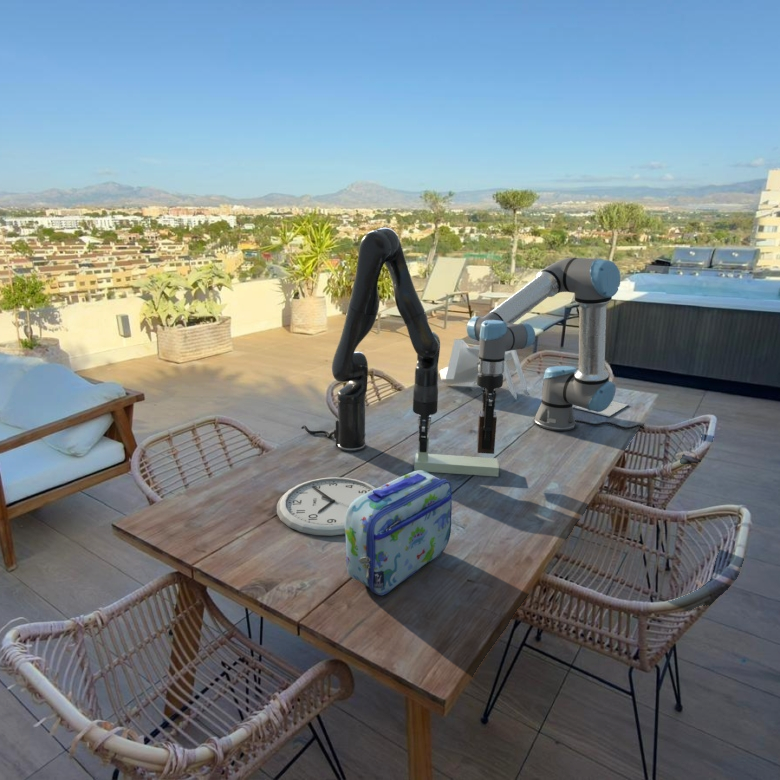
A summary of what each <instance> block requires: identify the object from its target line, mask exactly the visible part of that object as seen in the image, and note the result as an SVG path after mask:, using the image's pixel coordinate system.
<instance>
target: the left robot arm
mask: <svg viewBox="0 0 780 780" xmlns="http://www.w3.org/2000/svg"><path fill="white" fill-rule="evenodd" d="M384 265H385V267H386V268H387V271H388V273H389V275H390V279H391V282H392V289H393V297H394V302H395V306H396V308H397V311H398V313H399V315H400V317H401V320H402V321H403V324H404V326H405V327H406V330H407V333H408V336H409V340H410V342H411V345H412V347H413V350H414V351H415V353H416V366H415V368H414V385H413V392H412V393H413V395H412V412H413V413H414V414H416V415H418V419H417V424H418V426H417V427H418V428H417V432H418V442H419V441H420V452H427V441H428V434H429V435H430V431H431V424H432V416H433V415H436V414H437V412H438V404H439V403H438V402H439V386H438V385H439V384H438V383H439V381H438V380H439V361H440V353H441V352H440V351H441V340H440V337H439V335H438V334H437V333H435V332H434V331H432V328H431V326H430V324H429V318H428V314H427V312H426V310H425V308H424V305H423V304H422V302H421V299H420V297H419V294H418V292H417V290H416V287H415V285H414V282H413V279H412V277H411V274H410V271H409V267H408V263H407V261H406V257H405V254H404V250H403V247H402V244H401V241H400V238H399V236H398V234H397V233H396V232H395V231H394V230H393V229H392V228H389V227H381V228H377V229H375V230H371V231H369V232H367V233H366V234H365V235H364V236H363V237H362V238H361V241H360V244H359V248H358V255H357V264H356V271H355V277H354V280H353V285H352V289H351V294H350V298H349V302H348V305H347V310H346V314H345V319H344V324H343V327H342V331H341V335H340V339H339V340H338V344H337V346H336V350H335V353H334V355H333V358H332V362H331V373H332V377H333V378H334V380H335V381H336V382H339V383H345V382H347V383H346V385H344V386H343V387H342V388H340V389H339V390H338V392H337V419H336V420H335V429H334V430H333V431H331V432H330V433H329V432H328V431H326V430H310V429H309V428H308V427H307V426H306V425H302V426H301V427H300V429H301V430H302V429H304V430H305V431H306V433H308V434H310V435H311V434H312V435H314V434H315V435H316V434H325V435H326V437H327V438H328V439H331V438H332V437H333V439H334V440H335V447H337V448H338V449H339V450H341V451H345V452H359V451H362V450H363V449H365V448H366V435H367V434H366V433H367V432H366V395H367V392H368V380H369V379H368V377H369V363H368V359H367V357H366V355H365V354H364V353H363V352H361V351H356V349H357V347H358V346H359V345H360V343H361V342H363V340H364V339H365V338H366V336H367V335H368V334H369V333H370V332H371V330H372V329H373V327H374V326H375V324H376V321H377V318H378V317H377V316H378V313H379V309H380V296H379V295H380V294H379V288H378V285H379V279H380V276H381V272H382V269H383V267H384ZM421 436H425V437H426V438H425V437H421Z"/></svg>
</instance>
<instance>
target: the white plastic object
mask: <svg viewBox="0 0 780 780" xmlns="http://www.w3.org/2000/svg"><path fill="white" fill-rule="evenodd" d="M510 360H513V363H514V366H515V369H516V372H517V376H518V380H519V382H520V385H521V389H522V391H523V393H524V395H525V396H526V397H528V396H531V395H530V390H529V388H528V387H529V386H528V384H527V381H526V378H525V375H524V371H523V369H522V368H523V367H522V366H521V362H520V359H519V355H518V352H517V350H511V351H506V352H505V362H504V372H503V374H504V376H505V380H506V383H507V386H508V390H509V393H510V394H511V395H512V397H513V398H514V399H515V400H517V392H516V391H517V390H516V388H515V385H514V381H513V378H512V375H511V371H510V369H509V365H508V361H510ZM476 362H479V345H473V346H469V345H468V343H466V342H465V340H464V339H463V338H460V339H458V338H454V340H453V344H452V349H451V353H450V357H449V362H448V366H446V367H444V368H442V369H440V370H439V369H438V373H439V376H440V381H442V383H443V384H444V385H445V386H449V385H458V384H467V383H468V384H469V383H473V384H477V377H478V373H479V371H478V366H479V365H477V364H476Z"/></svg>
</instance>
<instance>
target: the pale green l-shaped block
mask: <svg viewBox="0 0 780 780" xmlns="http://www.w3.org/2000/svg"><path fill="white" fill-rule="evenodd" d="M421 437H425V436H421ZM425 438H426V437H425ZM429 444H430V433H429V434H428V441H427V452H420V441H419V440H418V452H415V457H414V465H413V467H414V468H413V472H414V471H417V470H422V471H425V472H427V473H439V474H440V473H441V474H455V475H467V476H468V475H469V476H483V477H484V476H485V477H497V478H499V473H500V465H499V460H498V458H497V457H496V458H495V457H484V456H483V457H482V456H481V457H480V456H468V455H467V456H465V455H453V454H452V455H451V454H436V453H429V447H430V446H429Z"/></svg>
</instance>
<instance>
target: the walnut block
mask: <svg viewBox="0 0 780 780" xmlns="http://www.w3.org/2000/svg"><path fill="white" fill-rule="evenodd" d="M497 418H498V416H497V412H496V411H494V417H493V431H492V439H491V450H489V449H482V436H483V430H481V428H483V427H484V411H483V410H479V411H478V423H477V440H476V451H477V454H487V455H488V454H489V455H494V454H495V446H496V445H495V444H496V434H497V433H496V431H497V420H498V419H497Z"/></svg>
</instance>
